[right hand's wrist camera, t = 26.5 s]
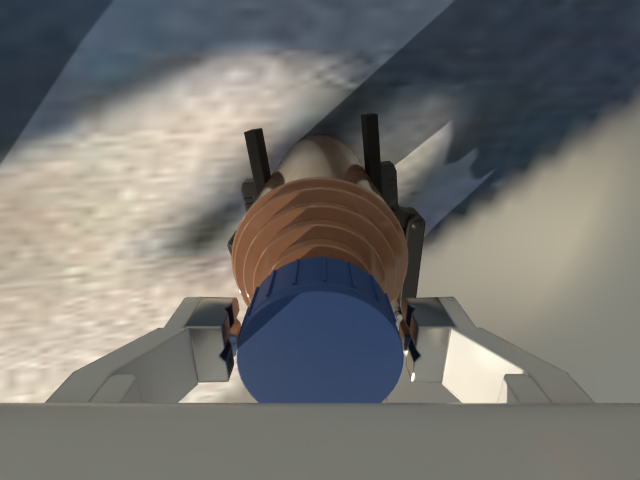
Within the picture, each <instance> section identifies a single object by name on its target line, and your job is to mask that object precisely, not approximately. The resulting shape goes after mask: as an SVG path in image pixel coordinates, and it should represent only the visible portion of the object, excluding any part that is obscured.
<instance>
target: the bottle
mask: <svg viewBox="0 0 640 480" xmlns="http://www.w3.org/2000/svg"><path fill="white" fill-rule="evenodd" d="M323 256H326V257H328V258H335V259H340V260H343V261H346V262H349V261H350V262H352V264H354V265H356V266H358V267H359V268H361V269H363V270H364V271H366V272H367V273H368V274H369V275H371V274H372V275H373V276H374V279H375V280H376V282H377V283H378V284H379V285H380V287H381V288H382V290H383V291H384V293H387V295H388V298H389V301H390V304H391V306H393V304H394V303H395V301H396V300H397V298H398V296H399V293H400V291H401V289H402V285H403V283H404V280H405V277H406V273H407V267H408V247H407V241H406V238H405V234H404V231H403V229H402V227H401V225H400V222H399V220H398V219H397V217H396V216H395V214H394V213H393V211H392V210H391V208H390V207H389V205H388V204H387V202H386V201H385V199H384V198H383V196H382V195H381V194H380V192H379V191H378V189H377V188H376V186H375V185H374V183H373V182H372V180H371V179H370V177H369V176H368V174H367V173H366V171H365V170H364V168H363V167H362V165H361V164H360V162H359V161H358V159H357V158H356V157H355V155H354V154H353V152H352V151H351V150H350V148H349V147H348V146H347V145H345V144H344V143H343V142H341V141H340V140H338V139H336V138H333V137H330V136H324V135H317V136H311V137H307V138H304V139H302V140H300V141H299V142H297V143H296V144H295V145H293V146H292V147H291V148H290V150H289V151H288V152H287V154H286V155H285V156H284V158H283V159H282V161H281V162H280V164H279V165H278V167H277V168H276V170H275V171H274V173H273V174H272V176H271V177H270V179H269V180H268V181H267V183H266V184H265V186H264V187H263V189H262V190H261V192H260V193H259V195H258V196H257V198H256V199H255V201H254V202H253V203H252V205H251V206H250V208H249V209H248V211H247V212H246V214H245V215H244V217H243V219H242V220H241V222H240V224H239V226H238V229H237V231H236V234H235V237H234V241H233V245H232V268H233V273H234V278H235V280H236V283H237V286H238V289H239V292H240V294H241V296H242V298H243V300H244V302H245V303H246V305H247V306H248V307H249V306H250V304H251V301H252V298H253V295H254V292H255V289H256V287H257V286H258V287H259V286H260V285H261V283H262V282H263V281H264V280H265V279H266V278H267V277H268V276H269V275H270V274H271V273H272V271H273V270H274V269H275V270H277V269H279V268H280V267H282V266H284V265H286V264H288V263H291V262H293V261H296V259H299V260H300V259H305V258H311V257H323Z"/></svg>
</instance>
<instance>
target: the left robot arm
mask: <svg viewBox="0 0 640 480" xmlns="http://www.w3.org/2000/svg"><path fill="white" fill-rule="evenodd" d="M361 121H362V134H363V146H364V159H365V171H366V173H367V174H368V176H369V177H370V179H371V180H372V182H373V183H374V185H375V186H376V188H377V189H378V191H379V192H380V194H381V195H382V196H383V198H384V199H385V201H386V202H387V204H388V205H389V207H390V208H391V210H392V211H393V213H394V214H395V216H396V217H397V219H398V220H399V222H400V225H401V227H402V229H403V231H404V234H405V238H406V241H407V247H408V267H407V273H406V277H405V280H404V283H403V285H402V289H401V291H400V293H399V296H398V298H397V300H396V301H395V303H394V304H393V306H392V309H393V312H394V315H395V318H396V321H397V322H396V326H397V328H398V327H399V323H400V322H401V321H402V319H403V315H402V312H401V304H402V300H403V298H416V295H417V287H418V279H419V270H420V262H421V254H422V246H423V238H424V230H425V221H424V219H423V218H422V217H421V216H420V215H419V214H418V212H417V211H416V210H415V209H413V208H411V207H408V208H405V207H401V206H398V195H397V173H396V169H395V167H394V165H393V163H391V162H390V161H384V162H380V146H379V130H378V114H373V113H370V114H362V115H361ZM244 135H245V140H246V145H247V149H248V154H249V159H250V164H251V169H252V174H253V178H252V179H246V180H245V182H244V183H243V185H242V195H243V200H244V203H245V209H246V212H247V211H248V209H249V208H250V206H251V205H252V203H253V202H254V201H255V199H256V198H257V196H258V195H259V193H260V192H261V190H262V189H263V187H264V186H265V184H266V183H267V181H268V180H269V179H270V177H271V174H270V169H269V163H268V158H267V152H266V147H265V142H264V136H263V131H262V128H260V129H252V130H249V131H247V132H244ZM236 231H237V230H236ZM236 231H235V233H234V234H233V236H232V237H231V239H230V241H229V242H228V249H229V252H230V254H231V257H232V245H233V241H234V237H235V234H236ZM381 403H387V397H386V398H385V399H384V400H383V401H382V402H381Z"/></svg>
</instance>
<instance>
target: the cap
mask: <svg viewBox="0 0 640 480" xmlns="http://www.w3.org/2000/svg"><path fill="white" fill-rule="evenodd" d="M396 322H397V321H396V318H395V315H394V312H393V309H392V306H391V304H390V301H389V298H388V295H387V293H384V291H383V290H382V288H381V287H380V285H379V284H378V283H377V282H376V280H375V279H374V276H373V275H372V274H371V275H369V274H368V273H367V272H366V271H364V270H363V269H361V268H359V267H358V266H356V265H354V264H352V262H350V261H349V262H346V261H343V260H340V259H335V258H328V257H326V256H323V257H311V258H305V259H300V260H299V259H296V261H293V262H291V263H288V264H286V265H284V266H282V267H280V268H279V269H277V270H275V269H274V270H273V271H272V273H271V274H270V275H269V276H268V277H267V278H266V279H265V280H264V281H263V282H262V283H261V285H260V286H259V287H258V286H257V287H256V289H255V292H254V295H253V298H252V301H251V304H250V306H249V307H248V309H247V312H246V315H245V317H244V320H243V323H242V326H241V329H240V331H239V334H238V338H239V340H238V344H237V350H236V364H237V369H238V373H239V376H240V378H241V381H242V382H243V384H244V386H245V388H246V389H247V390H248V392H249V393H250V394H251V396H252V397H253V398H254V399H255V400H256V401H257V402H259V403H381V402H382V401H383V400H384V399H385V398H386V397H387V396H388V395H389V394H390V393H391V391H392V390H393V389H394V387H395V385H396V384H397V382H398V380H399V377H400V374H401V371H402V367H403V357H404V354H403V346H402V345H403V344H402V340H401V337H400V334H399V332H398V329H397V326H396Z"/></svg>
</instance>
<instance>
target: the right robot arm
mask: <svg viewBox="0 0 640 480" xmlns="http://www.w3.org/2000/svg"><path fill="white" fill-rule="evenodd" d="M238 312H239V305H238V300H237V298H223V297H187V298H185V299H184V300H183V301H182V303H181V304H180V305H179V307H178V308H177V310H176V311H175V313H174V314H173V315H172V317H171V318H170V320H169V321H168V322H167V324H166V325H165V327H164V328H157V329H155V330H153V331H152V332H150V333H148V334H146V335H144V336H142V337H140V338H138V339H136V340H134V341H132V342H130V343H128V344H127V345H125V346H123V347H121V348H119V349H117V350H115V351H113V352H111V353H109V354H107V355H105V356H104V357H102V358H100V359H98V360H96V361H94V362H92V363H90V364H88V365H86V366H84V367H82V368H80V369H79V370H77V371H75V372H73V373H72V374H71V375H70V376H69V377H68V378H67V379H66V380H65V381H64V383H63V384H62V385H61V386H60V387H59V388H58V389H57V390H56V391H55V392H54V393H53V394H52V395H51V397H50V398H49V399H48V400H47V401H46V402H45V403H0V480H640V403H595V402H594V401H593V400H592V399H591V398H590V397H589V395H588V394H587V393H586V392H585V391H584V390H583V389H582V388H581V387H580V386H579V385H578V384H577V382H576V381H575V380H574V379H573V378H572V377H571V376H570V375H569V374H568V373H567V372H565V371H563V370H561V369H559V368H557V367H555V366H554V365H552V364H550V363H548V362H546V361H544V360H542V359H540V358H538V357H536V356H534V355H532V354H531V353H529V352H527V351H525V350H523V349H521V348H519V347H517V346H515V345H513V344H511V343H509V342H507V341H506V340H504V339H502V338H500V337H498V336H496V335H494V334H492V333H490V332H488V331H486V330H484V329H483V328H476V327H475V325H474V324H473V323H472V321H471V320H470V318H469V317H468V316H467V314H466V313H465V311H464V310H463V309H462V307H461V306H460V304H459V303H458V302H457V300H456V299H455V298H454V297H430V298H403V300H402V304H401V312H402V315H403V319H402V321H401V322H400V323H399V334H400V337H401V340H402V344H403V345H402V346H403V354H404V355H405V356H406V357H407V359H406V366H407V369H408V372H409V375H410V378H411V381H412V382H441V383H442V384H443V385H444V386H445V387H446V388H447V389H448V390H449V391H450V392H451V393H452V394H454V395H455V396H456V397H457V398H458V399H459V400H460V401H461V402H462V403H178V402H179V401H180V400H181V399H182V398H183V397H184V396H186V395H187V394H188V393H189V392H190V391H191V390H192V389H193V388H194V387H195V386H196V385H198V383H199V382H228V381H229V378H230V375H231V372H232V369H233V366H234V359H233V357H234V356H235V355H236V350H237V344H238V340H239V338H238V334H239V331H240V329H241V323H240V322H239V321H238V320H237V318H236V317H237V315H238Z"/></svg>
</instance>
